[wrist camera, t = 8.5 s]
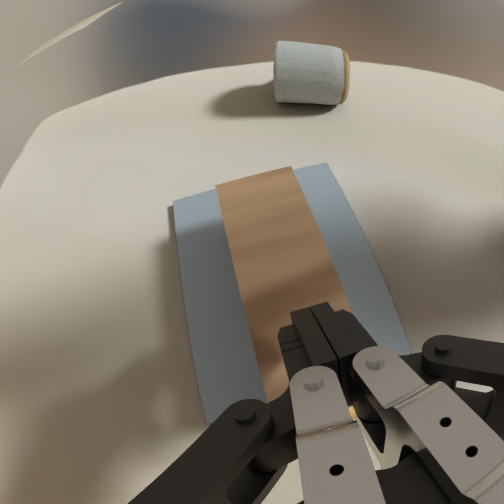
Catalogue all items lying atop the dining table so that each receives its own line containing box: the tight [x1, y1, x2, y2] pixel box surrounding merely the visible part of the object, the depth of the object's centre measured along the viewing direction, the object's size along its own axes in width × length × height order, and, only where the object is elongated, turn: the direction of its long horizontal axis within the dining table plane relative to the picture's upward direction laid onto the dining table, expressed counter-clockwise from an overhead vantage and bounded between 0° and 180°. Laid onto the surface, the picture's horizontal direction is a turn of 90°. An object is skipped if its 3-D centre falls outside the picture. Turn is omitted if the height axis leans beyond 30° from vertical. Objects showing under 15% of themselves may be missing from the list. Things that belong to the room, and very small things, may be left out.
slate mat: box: [173, 163, 412, 424], centre depth 21 cm, size 18×14×1 cm
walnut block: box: [216, 166, 355, 419], centre depth 17 cm, size 5×5×15 cm
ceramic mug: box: [273, 41, 350, 105], centre depth 29 cm, size 11×8×8 cm
